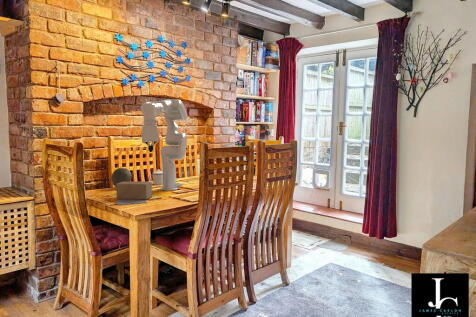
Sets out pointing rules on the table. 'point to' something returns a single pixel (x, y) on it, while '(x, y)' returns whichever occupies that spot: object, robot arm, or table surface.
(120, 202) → the mat
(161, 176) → the teacup with lid
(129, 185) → the wooden block
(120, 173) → the dark grey ball
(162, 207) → the table surface
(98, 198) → the table surface
